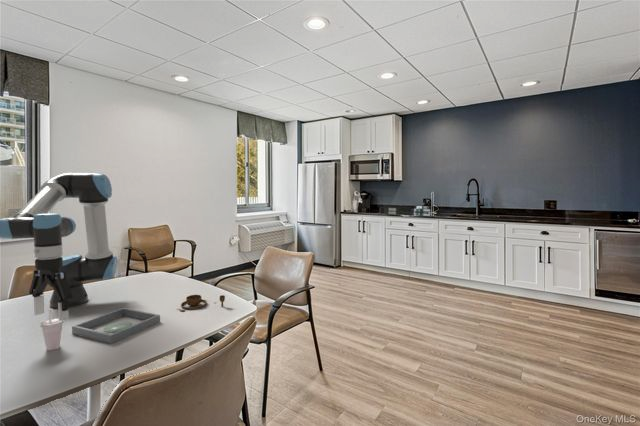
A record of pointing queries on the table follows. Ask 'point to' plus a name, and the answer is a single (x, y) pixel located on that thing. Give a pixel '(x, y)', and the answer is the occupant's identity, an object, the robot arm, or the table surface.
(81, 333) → the grey square frame
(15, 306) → the table surface
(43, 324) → the smoothie
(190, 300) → the place setting
